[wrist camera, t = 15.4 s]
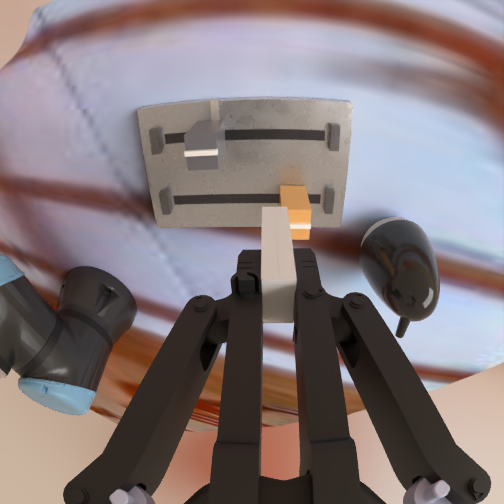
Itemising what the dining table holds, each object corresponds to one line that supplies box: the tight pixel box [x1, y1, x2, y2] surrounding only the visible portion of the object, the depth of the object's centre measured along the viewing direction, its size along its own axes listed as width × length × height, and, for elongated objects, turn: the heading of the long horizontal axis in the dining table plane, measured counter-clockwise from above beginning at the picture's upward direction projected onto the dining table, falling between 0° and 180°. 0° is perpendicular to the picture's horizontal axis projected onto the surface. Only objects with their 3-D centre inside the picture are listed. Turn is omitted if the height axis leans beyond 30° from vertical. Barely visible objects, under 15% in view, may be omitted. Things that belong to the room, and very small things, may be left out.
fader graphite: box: [184, 120, 226, 171], centre depth 30 cm, size 3×4×6 cm
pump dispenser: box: [359, 217, 440, 338], centre depth 36 cm, size 10×10×15 cm
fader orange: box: [279, 185, 311, 240], centre depth 34 cm, size 3×4×6 cm
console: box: [137, 97, 353, 228], centre depth 35 cm, size 24×16×3 cm
